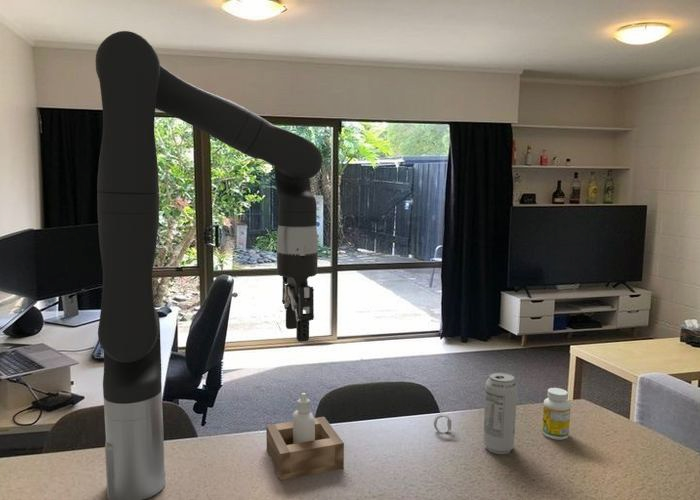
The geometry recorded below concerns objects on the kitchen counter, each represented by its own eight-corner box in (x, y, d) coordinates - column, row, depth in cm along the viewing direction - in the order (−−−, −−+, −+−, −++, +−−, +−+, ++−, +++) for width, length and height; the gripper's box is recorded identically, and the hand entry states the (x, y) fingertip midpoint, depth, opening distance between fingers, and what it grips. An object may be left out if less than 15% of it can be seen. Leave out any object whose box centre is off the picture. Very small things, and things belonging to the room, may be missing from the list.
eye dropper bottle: (315, 446, 110) (315, 387, 108) (314, 460, 104) (314, 399, 103) (293, 446, 110) (293, 388, 108) (291, 460, 104) (290, 399, 102)
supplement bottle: (568, 442, 115) (571, 397, 113) (541, 437, 116) (544, 394, 115) (568, 431, 120) (571, 388, 118) (542, 427, 121) (544, 385, 120)
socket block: (280, 480, 99) (280, 453, 99) (266, 449, 111) (266, 425, 110) (343, 468, 104) (343, 443, 103) (324, 439, 115) (324, 416, 114)
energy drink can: (520, 452, 110) (524, 379, 108) (494, 457, 108) (498, 383, 106) (501, 438, 116) (504, 369, 114) (476, 443, 114) (479, 373, 112)
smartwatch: (433, 433, 118) (434, 415, 117) (432, 429, 120) (433, 411, 119) (450, 434, 118) (451, 416, 117) (449, 429, 120) (450, 412, 119)
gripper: (269, 245, 109) (269, 326, 111) (286, 255, 95) (286, 347, 97) (306, 244, 111) (306, 323, 113) (328, 254, 98) (327, 343, 100)
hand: (296, 334), depth 105 cm, fingers open, 8 cm apart
